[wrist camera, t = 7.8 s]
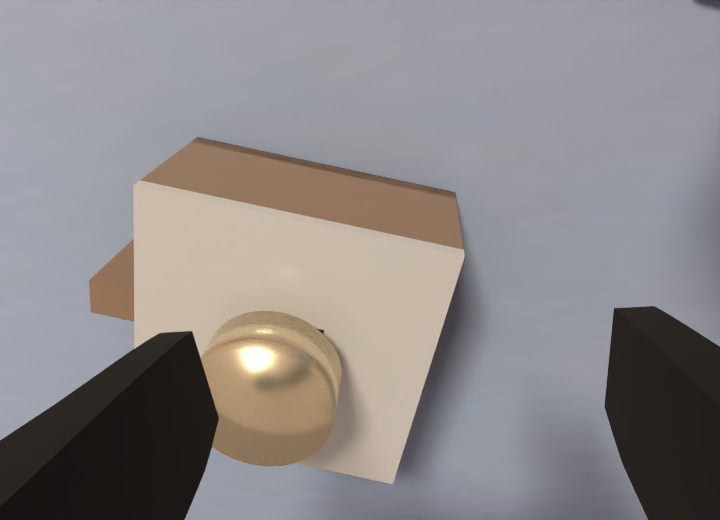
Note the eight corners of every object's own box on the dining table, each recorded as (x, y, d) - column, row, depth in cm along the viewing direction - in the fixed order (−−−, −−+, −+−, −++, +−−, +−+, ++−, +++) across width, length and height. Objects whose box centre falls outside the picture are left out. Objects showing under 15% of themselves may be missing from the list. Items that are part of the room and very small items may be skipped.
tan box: (455, 192, 19) (464, 256, 15) (397, 390, 23) (392, 484, 19) (146, 126, 19) (67, 171, 15) (144, 336, 23) (83, 418, 19)
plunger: (367, 252, 19) (345, 369, 14) (347, 343, 21) (320, 478, 16) (255, 228, 19) (186, 335, 14) (244, 321, 21) (181, 449, 16)
